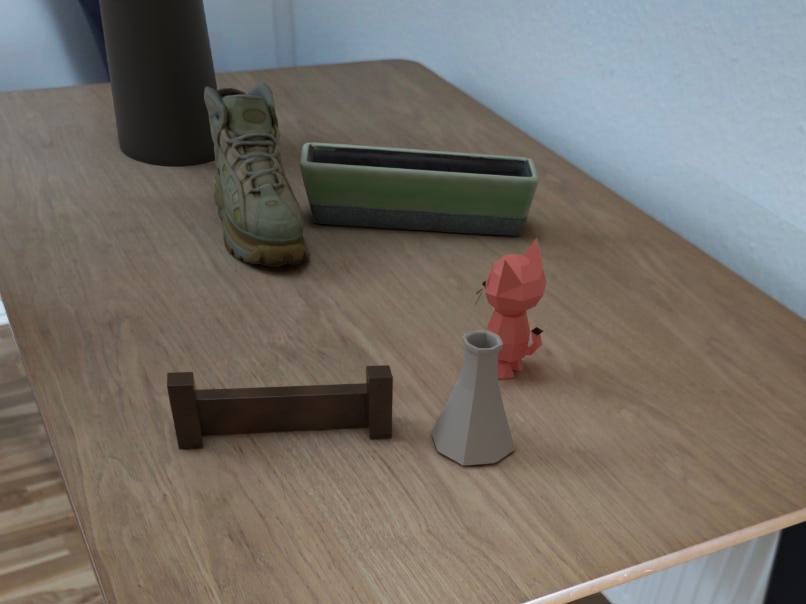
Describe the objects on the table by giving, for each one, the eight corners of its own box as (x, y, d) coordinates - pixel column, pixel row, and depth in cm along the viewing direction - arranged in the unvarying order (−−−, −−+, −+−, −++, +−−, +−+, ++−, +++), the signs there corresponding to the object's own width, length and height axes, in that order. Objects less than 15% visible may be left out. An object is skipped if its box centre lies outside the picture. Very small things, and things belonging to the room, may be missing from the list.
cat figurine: (494, 343, 91) (507, 224, 82) (553, 365, 89) (572, 246, 80) (458, 371, 87) (467, 249, 78) (519, 396, 85) (536, 273, 76)
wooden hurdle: (178, 449, 74) (166, 385, 70) (179, 425, 77) (167, 363, 72) (391, 438, 78) (393, 377, 74) (386, 416, 80) (387, 356, 76)
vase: (245, 155, 119) (217, -128, 98) (149, 172, 112) (97, -127, 91) (195, 122, 125) (159, -150, 104) (102, 137, 119) (43, -150, 97)
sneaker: (209, 273, 95) (203, 118, 85) (208, 203, 108) (203, 61, 97) (311, 281, 98) (318, 133, 87) (299, 212, 111) (303, 75, 100)
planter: (525, 217, 113) (533, 156, 108) (531, 242, 108) (540, 179, 103) (306, 203, 110) (303, 140, 105) (302, 228, 105) (298, 163, 100)
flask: (484, 412, 82) (495, 310, 75) (529, 454, 78) (545, 351, 71) (416, 431, 79) (421, 327, 72) (459, 476, 75) (468, 371, 68)
